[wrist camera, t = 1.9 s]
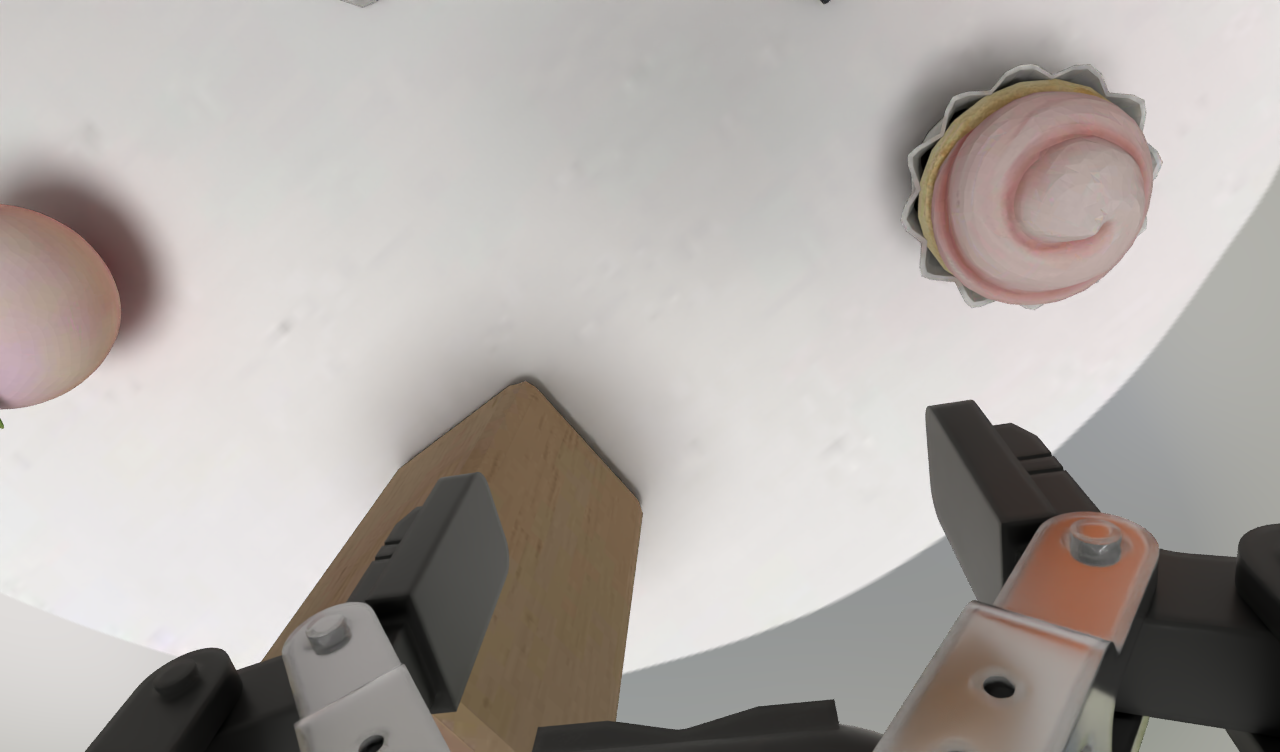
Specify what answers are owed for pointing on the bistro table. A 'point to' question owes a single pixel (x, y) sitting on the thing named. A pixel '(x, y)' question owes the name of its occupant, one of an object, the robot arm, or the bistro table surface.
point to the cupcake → (1031, 187)
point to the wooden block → (522, 571)
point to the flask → (360, 2)
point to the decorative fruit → (50, 308)
